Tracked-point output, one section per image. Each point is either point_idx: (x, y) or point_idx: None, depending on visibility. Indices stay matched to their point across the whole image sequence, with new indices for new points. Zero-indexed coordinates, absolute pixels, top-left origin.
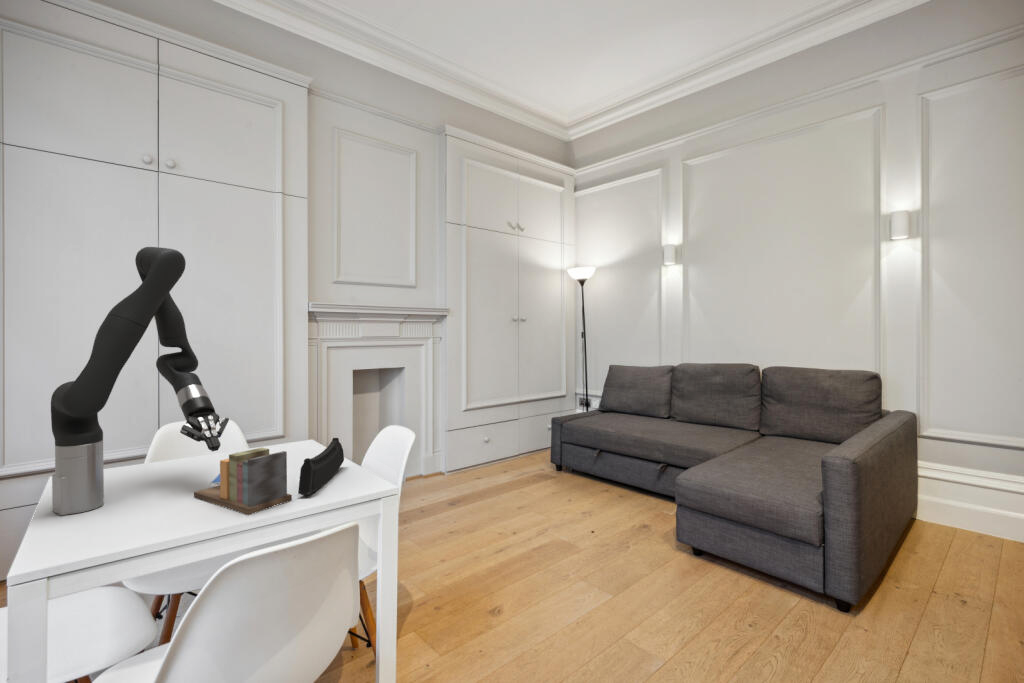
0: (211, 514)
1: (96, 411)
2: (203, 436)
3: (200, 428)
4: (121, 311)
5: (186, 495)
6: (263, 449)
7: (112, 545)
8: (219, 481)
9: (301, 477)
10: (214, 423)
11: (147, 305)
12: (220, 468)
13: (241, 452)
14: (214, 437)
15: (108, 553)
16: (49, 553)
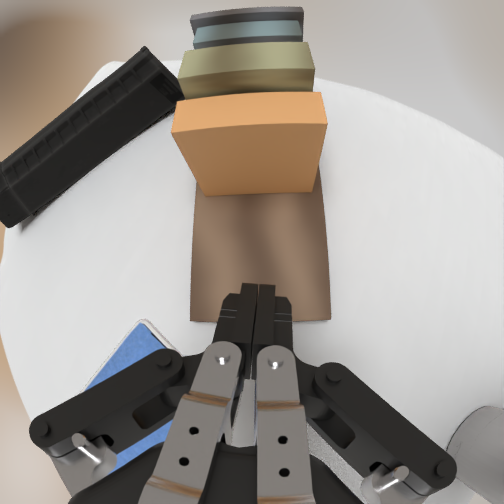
0: (351, 151)
1: None
2: (309, 375)
3: (309, 454)
4: None
5: (329, 361)
6: (197, 55)
7: (482, 166)
8: None
9: (173, 75)
10: (167, 438)
11: None
12: (323, 140)
13: (268, 63)
14: (240, 334)
15: (482, 144)
16: None
